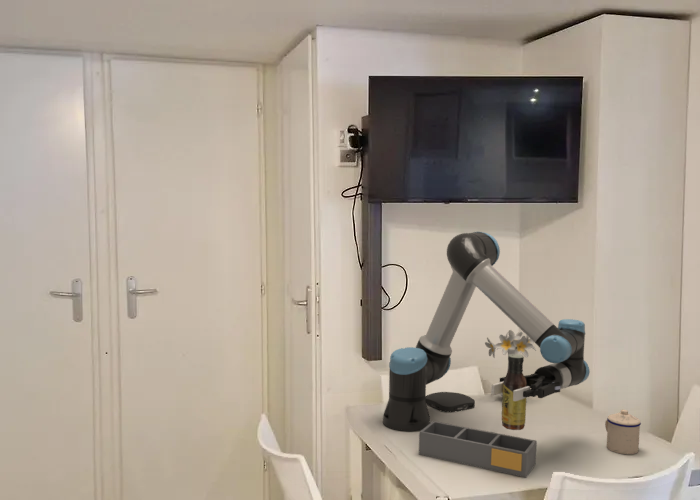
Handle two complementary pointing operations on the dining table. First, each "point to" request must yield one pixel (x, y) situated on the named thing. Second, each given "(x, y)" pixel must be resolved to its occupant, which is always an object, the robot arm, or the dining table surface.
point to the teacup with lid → (623, 433)
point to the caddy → (478, 448)
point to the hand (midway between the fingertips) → (503, 392)
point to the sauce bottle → (514, 380)
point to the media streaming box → (449, 401)
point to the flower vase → (511, 345)
